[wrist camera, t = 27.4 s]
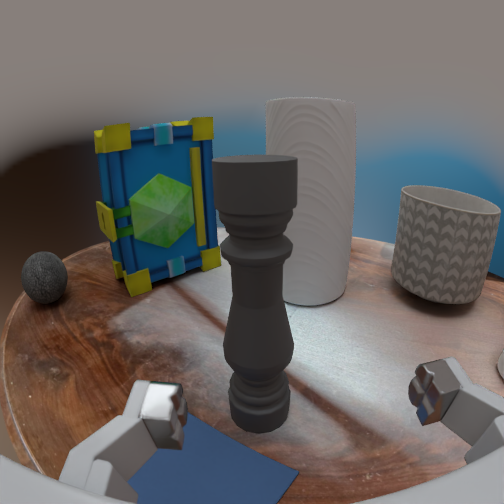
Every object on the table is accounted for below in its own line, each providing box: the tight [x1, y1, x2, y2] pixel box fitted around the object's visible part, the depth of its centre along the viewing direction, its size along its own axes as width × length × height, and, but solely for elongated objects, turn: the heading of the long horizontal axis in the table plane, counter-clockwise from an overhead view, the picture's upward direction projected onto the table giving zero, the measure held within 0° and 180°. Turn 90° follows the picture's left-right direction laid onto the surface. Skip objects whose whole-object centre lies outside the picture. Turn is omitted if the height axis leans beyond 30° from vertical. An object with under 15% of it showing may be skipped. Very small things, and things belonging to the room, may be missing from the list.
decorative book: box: [94, 117, 221, 297], centre depth 54 cm, size 14×23×30 cm, turn 130°
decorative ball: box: [21, 252, 68, 304], centre depth 47 cm, size 10×10×10 cm
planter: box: [391, 185, 501, 304], centre depth 45 cm, size 19×19×18 cm
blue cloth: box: [127, 413, 299, 504], centre depth 20 cm, size 12×14×1 cm
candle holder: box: [212, 155, 298, 433], centre depth 24 cm, size 6×6×25 cm
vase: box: [266, 97, 356, 305], centre depth 47 cm, size 14×14×32 cm
